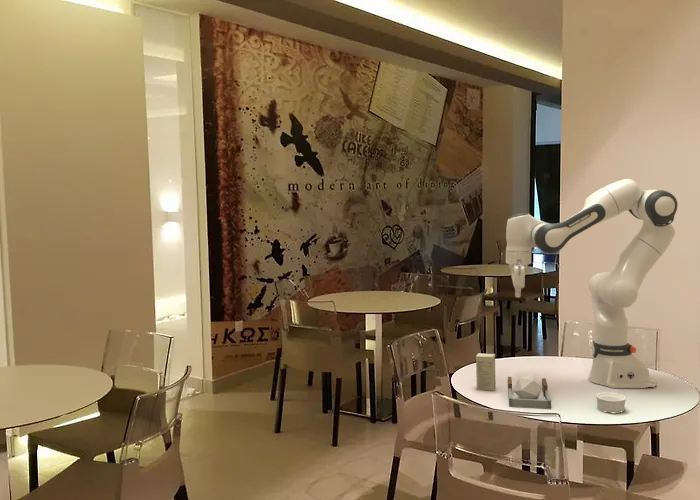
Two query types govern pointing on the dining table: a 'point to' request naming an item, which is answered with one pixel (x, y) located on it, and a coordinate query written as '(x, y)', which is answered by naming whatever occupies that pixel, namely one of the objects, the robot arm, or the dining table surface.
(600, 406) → the ramekin
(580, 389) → the dining table surface
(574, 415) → the dining table surface
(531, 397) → the die
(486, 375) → the skincare box
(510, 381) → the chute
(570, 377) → the dining table surface
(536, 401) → the tray
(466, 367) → the dining table surface
